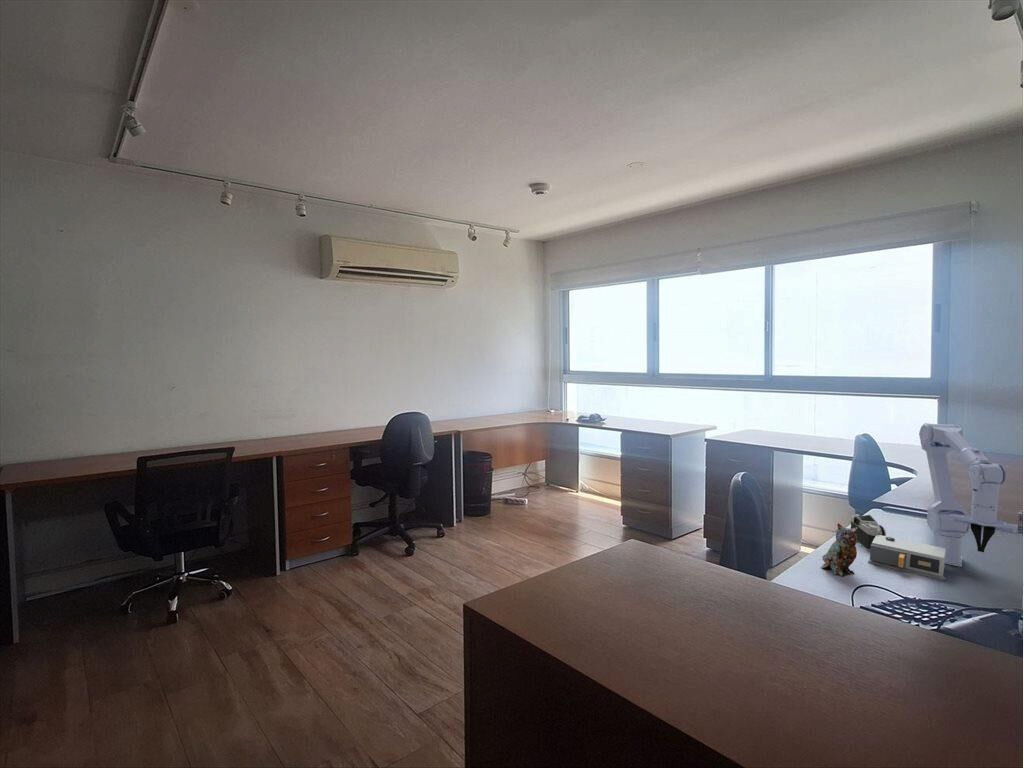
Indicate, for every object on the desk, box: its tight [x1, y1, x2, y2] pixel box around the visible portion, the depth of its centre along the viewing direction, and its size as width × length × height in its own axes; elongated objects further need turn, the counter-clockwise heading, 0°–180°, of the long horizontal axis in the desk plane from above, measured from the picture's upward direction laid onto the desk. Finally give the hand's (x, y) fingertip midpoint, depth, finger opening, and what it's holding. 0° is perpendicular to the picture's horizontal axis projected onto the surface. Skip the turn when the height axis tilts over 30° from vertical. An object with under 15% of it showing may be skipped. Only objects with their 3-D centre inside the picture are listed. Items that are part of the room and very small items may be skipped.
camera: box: [850, 514, 887, 552], centre depth 187 cm, size 16×9×10 cm, turn 169°
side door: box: [869, 545, 907, 568], centre depth 167 cm, size 5×9×5 cm, turn 49°
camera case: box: [867, 535, 946, 581], centre depth 169 cm, size 12×19×6 cm, turn 49°
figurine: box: [820, 522, 858, 578], centre depth 164 cm, size 9×9×15 cm
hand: (980, 550), depth 157 cm, fingers closed
